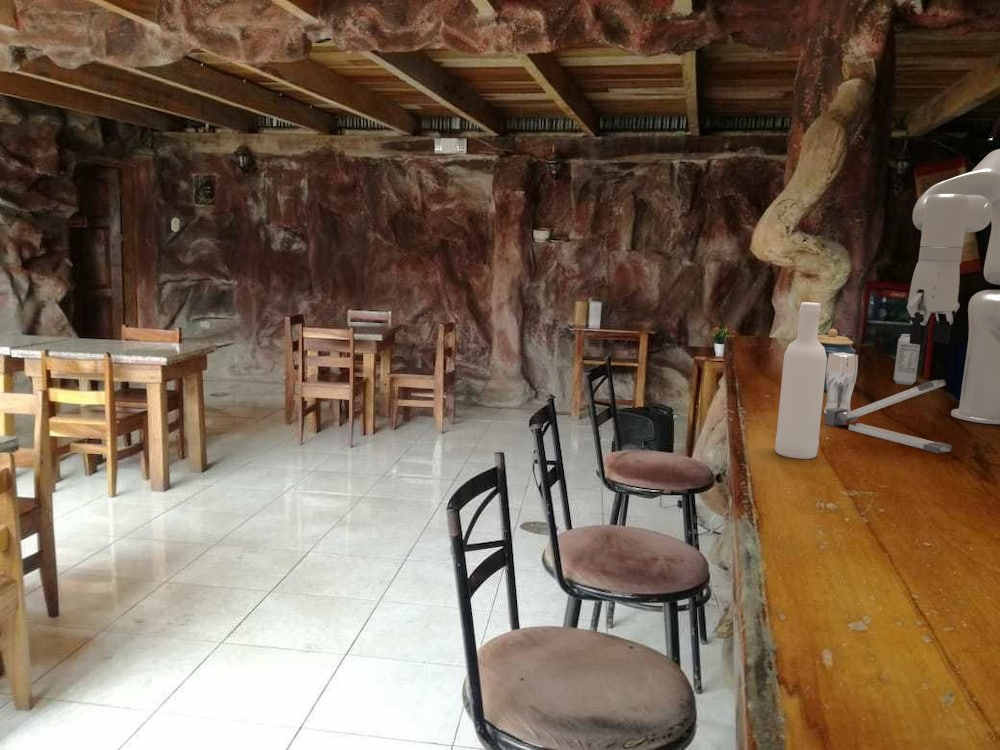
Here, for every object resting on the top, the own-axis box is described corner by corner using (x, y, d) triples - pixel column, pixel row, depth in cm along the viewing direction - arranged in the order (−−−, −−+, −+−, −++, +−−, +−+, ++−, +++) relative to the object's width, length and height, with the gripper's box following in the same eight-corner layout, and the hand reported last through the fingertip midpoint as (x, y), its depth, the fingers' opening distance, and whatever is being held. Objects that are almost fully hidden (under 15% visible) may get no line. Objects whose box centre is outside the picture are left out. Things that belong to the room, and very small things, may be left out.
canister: (793, 385, 228) (799, 326, 224) (829, 384, 231) (835, 326, 228) (823, 394, 215) (830, 331, 212) (861, 392, 219) (868, 331, 216)
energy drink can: (915, 383, 237) (921, 335, 235) (914, 386, 232) (920, 336, 230) (894, 380, 240) (899, 333, 238) (892, 383, 235) (898, 335, 233)
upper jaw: (837, 424, 175) (834, 414, 176) (851, 422, 178) (847, 412, 178) (933, 389, 155) (929, 378, 156) (947, 387, 158) (943, 376, 158)
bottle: (790, 460, 148) (806, 304, 142) (766, 449, 155) (780, 301, 150) (826, 458, 150) (842, 304, 144) (800, 447, 157) (815, 301, 152)
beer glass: (855, 418, 186) (862, 357, 183) (825, 416, 187) (831, 355, 184) (848, 412, 192) (855, 353, 190) (819, 410, 194) (825, 351, 191)
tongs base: (824, 424, 179) (825, 409, 178) (837, 422, 181) (839, 407, 180) (937, 453, 155) (939, 436, 155) (951, 451, 158) (953, 434, 157)
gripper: (947, 256, 162) (936, 339, 165) (896, 255, 154) (885, 343, 157) (983, 257, 156) (971, 344, 159) (932, 256, 147) (920, 348, 151)
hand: (929, 342), depth 158 cm, fingers open, 7 cm apart
